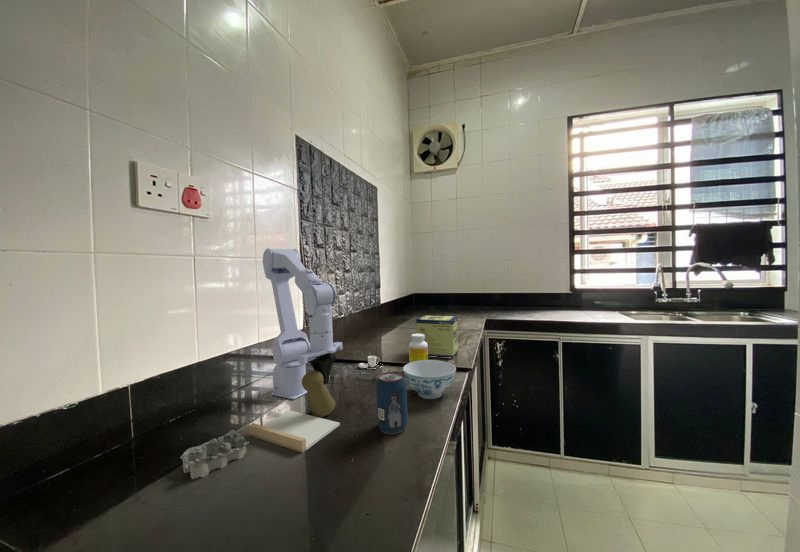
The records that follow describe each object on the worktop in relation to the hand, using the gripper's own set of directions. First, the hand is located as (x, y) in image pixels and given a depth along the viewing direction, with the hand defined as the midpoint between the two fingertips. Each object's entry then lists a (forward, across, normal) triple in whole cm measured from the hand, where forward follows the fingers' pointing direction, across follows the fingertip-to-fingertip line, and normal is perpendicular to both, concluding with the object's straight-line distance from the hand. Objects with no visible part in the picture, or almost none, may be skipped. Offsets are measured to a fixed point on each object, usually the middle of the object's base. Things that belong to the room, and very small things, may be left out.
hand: (323, 383), depth 80 cm
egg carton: (+8, -25, +6) cm, 27 cm away
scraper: (+7, -10, 0) cm, 12 cm away
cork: (+6, 0, 0) cm, 6 cm away
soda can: (+8, 0, -20) cm, 21 cm away
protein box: (+8, +60, -9) cm, 61 cm away
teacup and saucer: (+8, +37, +11) cm, 40 cm away
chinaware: (+8, +21, -21) cm, 31 cm away
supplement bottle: (+8, +38, -10) cm, 40 cm away
